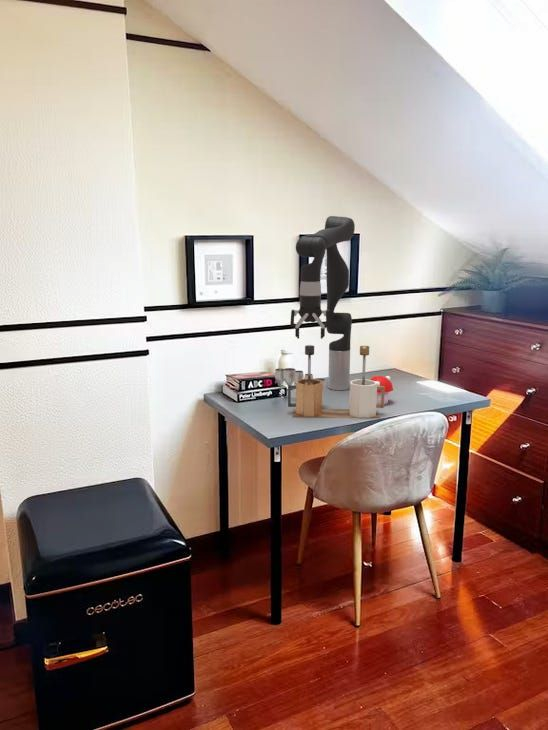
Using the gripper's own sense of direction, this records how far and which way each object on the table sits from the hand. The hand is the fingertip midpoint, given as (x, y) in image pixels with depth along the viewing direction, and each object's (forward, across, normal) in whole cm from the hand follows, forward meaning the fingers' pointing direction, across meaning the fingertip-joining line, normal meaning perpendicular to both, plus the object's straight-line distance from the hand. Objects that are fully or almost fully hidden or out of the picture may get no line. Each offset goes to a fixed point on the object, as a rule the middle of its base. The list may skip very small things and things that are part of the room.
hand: (309, 338), depth 224 cm
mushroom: (+30, -28, -16) cm, 44 cm away
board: (+30, -10, 0) cm, 31 cm away
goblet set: (+30, +4, -17) cm, 35 cm away
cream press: (+28, -21, 0) cm, 36 cm away
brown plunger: (+19, -20, 0) cm, 28 cm away
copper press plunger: (+19, 0, 0) cm, 19 cm away
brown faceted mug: (+28, +2, 0) cm, 28 cm away
